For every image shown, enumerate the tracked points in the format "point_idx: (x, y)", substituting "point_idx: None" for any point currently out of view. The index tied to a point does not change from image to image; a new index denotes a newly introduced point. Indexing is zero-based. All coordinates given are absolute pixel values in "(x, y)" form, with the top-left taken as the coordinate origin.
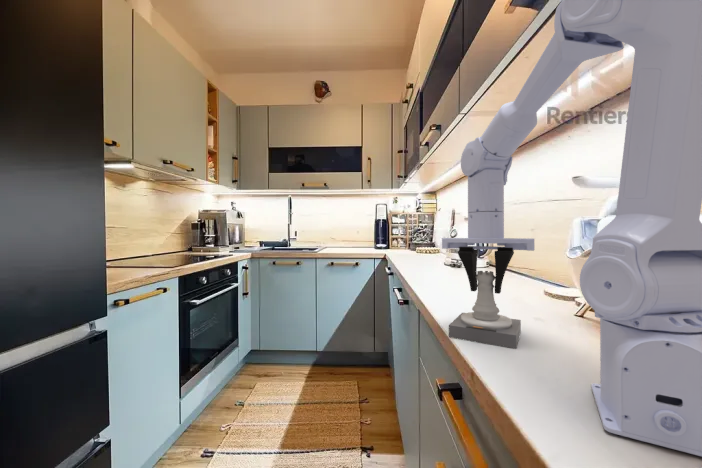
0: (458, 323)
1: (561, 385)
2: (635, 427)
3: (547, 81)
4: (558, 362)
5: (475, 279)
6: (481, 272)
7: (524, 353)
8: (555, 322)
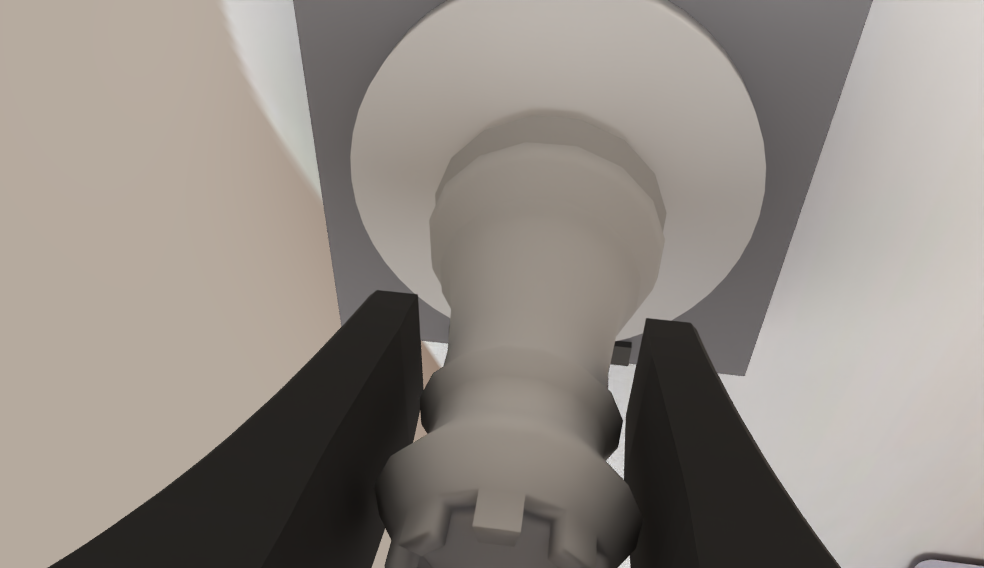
0: (380, 278)
1: None
2: None
3: None
4: (903, 409)
5: (381, 445)
6: (434, 533)
7: (765, 362)
8: None
